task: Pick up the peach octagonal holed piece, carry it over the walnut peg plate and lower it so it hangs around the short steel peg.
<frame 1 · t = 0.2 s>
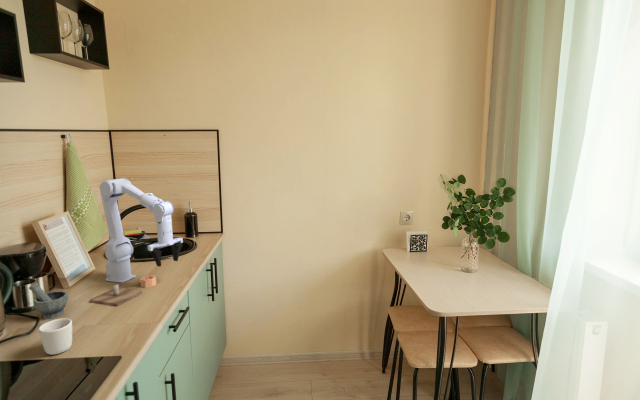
hand: (167, 263, 154), 10 cm above the table, tool pointing down, fingers open, 7 cm apart
peach octagonal holed piece: (148, 284, 157), on the table
peg plate: (116, 297, 144), on the table
mortar and pestle: (51, 315, 131), on the table
cup: (62, 347, 111), on the table
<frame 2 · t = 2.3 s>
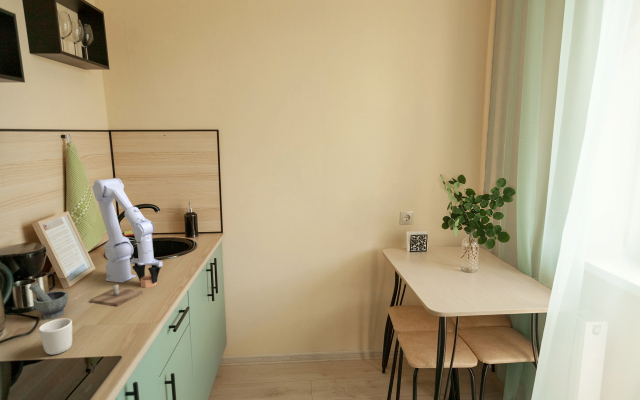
hand: (148, 281, 157), 1 cm above the table, tool pointing down, fingers closed on peach octagonal holed piece, 6 cm apart
peach octagonal holed piece: (148, 284, 157), on the table, touching gripper
everything else where it was.
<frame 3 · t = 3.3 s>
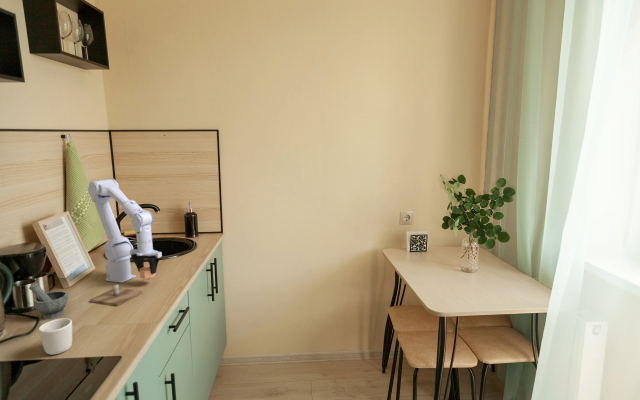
hand: (147, 272, 156), 5 cm above the table, tool pointing down, fingers closed on peach octagonal holed piece, 6 cm apart
peach octagonal holed piece: (147, 275, 156), point 4 cm above the table, touching gripper
everything else where it was.
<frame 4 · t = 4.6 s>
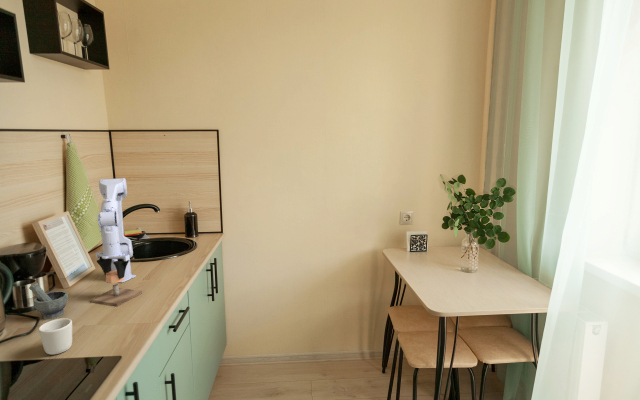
hand: (114, 276, 143), 8 cm above the table, tool pointing down, fingers closed on peach octagonal holed piece, 6 cm apart
peach octagonal holed piece: (115, 280, 143), point 7 cm above the table, touching gripper
everything else where it was.
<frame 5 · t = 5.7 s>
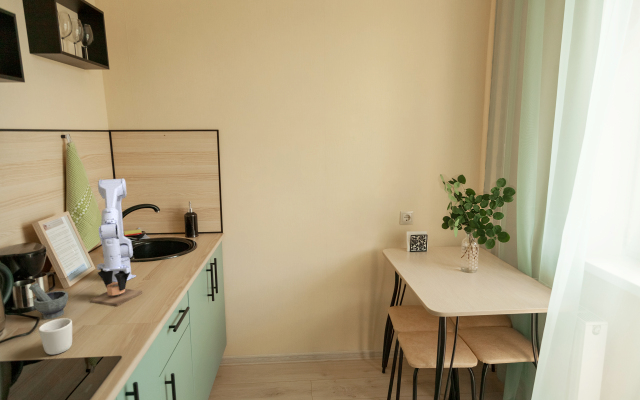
hand: (115, 288, 144), 4 cm above the table, tool pointing down, fingers closed on peach octagonal holed piece, 6 cm apart
peach octagonal holed piece: (116, 292, 144), point 2 cm above the table, touching gripper
everything else where it was.
when the fingers open (3 cm above the table, at t = 6.9 s): peach octagonal holed piece stays where it is, resting on peg plate.
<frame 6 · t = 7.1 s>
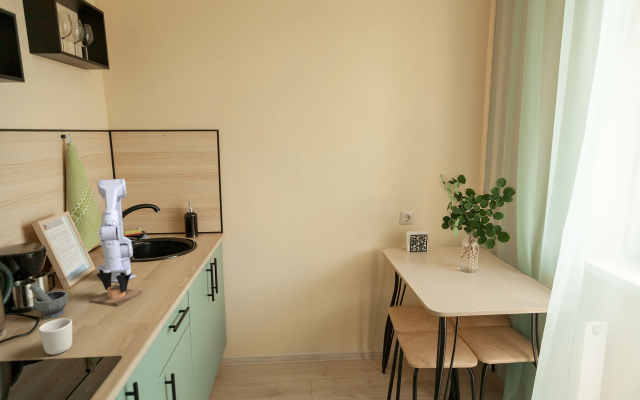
hand: (116, 290, 144), 3 cm above the table, tool pointing down, fingers open, 7 cm apart
peach octagonal holed piece: (116, 295, 144), point 1 cm above the table, touching peg plate
everything else where it was.
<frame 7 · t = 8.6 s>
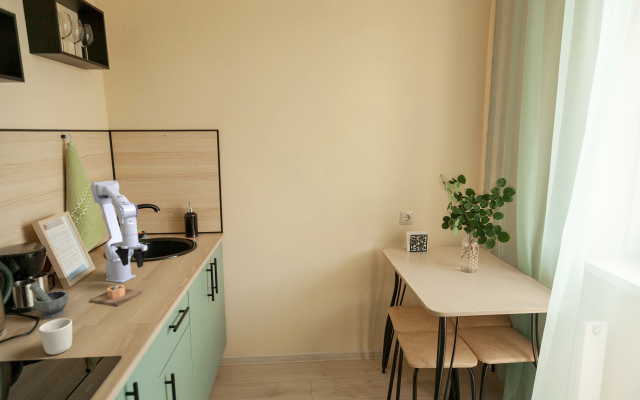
hand: (133, 266, 152), 9 cm above the table, tool pointing down, fingers open, 7 cm apart
nothing on the table moved.
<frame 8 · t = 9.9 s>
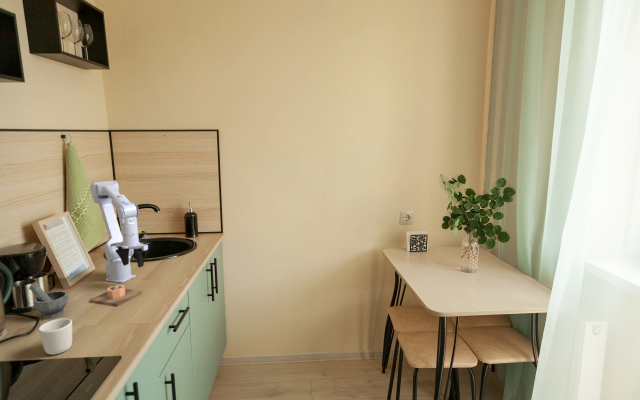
hand: (133, 265, 152), 9 cm above the table, tool pointing down, fingers open, 7 cm apart
nothing on the table moved.
at the end: peach octagonal holed piece 0.1 cm off-centre on the peg plate, point 1.0 cm above the peg plate's base; the gripper is holding nothing; peach octagonal holed piece tilted 0° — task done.
